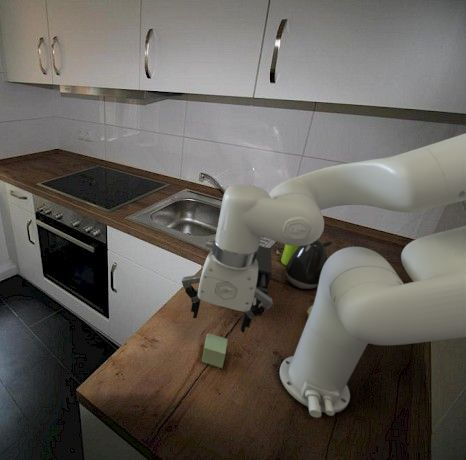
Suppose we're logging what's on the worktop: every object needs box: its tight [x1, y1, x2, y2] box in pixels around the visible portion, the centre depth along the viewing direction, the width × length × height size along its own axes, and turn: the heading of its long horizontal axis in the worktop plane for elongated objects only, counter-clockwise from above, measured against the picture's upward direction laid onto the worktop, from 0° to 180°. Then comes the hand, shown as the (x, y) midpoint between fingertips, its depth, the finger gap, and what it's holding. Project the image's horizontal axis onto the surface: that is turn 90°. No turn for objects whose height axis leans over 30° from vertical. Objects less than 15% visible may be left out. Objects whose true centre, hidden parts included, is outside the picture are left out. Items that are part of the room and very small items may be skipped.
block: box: [201, 332, 229, 369], centre depth 70 cm, size 4×4×4 cm
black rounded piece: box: [285, 239, 333, 290], centre depth 91 cm, size 10×10×15 cm
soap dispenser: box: [280, 244, 299, 267], centre depth 100 cm, size 6×7×20 cm
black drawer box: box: [256, 245, 273, 289], centre depth 93 cm, size 14×12×10 cm
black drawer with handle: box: [252, 272, 270, 317], centre depth 85 cm, size 17×11×8 cm, turn 158°
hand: (218, 320), depth 66 cm, fingers open, 9 cm apart
